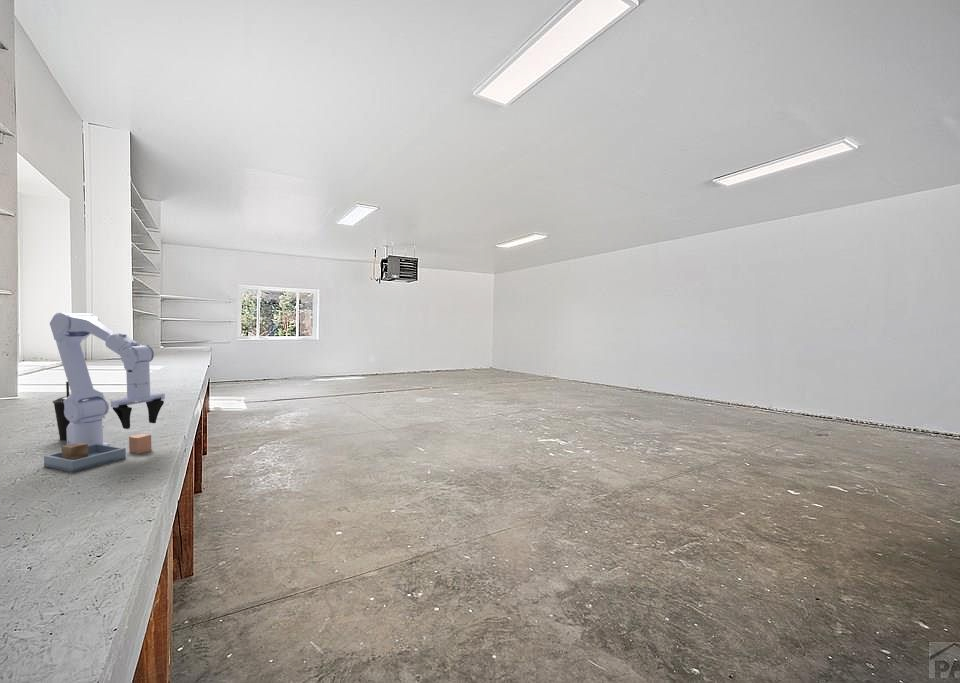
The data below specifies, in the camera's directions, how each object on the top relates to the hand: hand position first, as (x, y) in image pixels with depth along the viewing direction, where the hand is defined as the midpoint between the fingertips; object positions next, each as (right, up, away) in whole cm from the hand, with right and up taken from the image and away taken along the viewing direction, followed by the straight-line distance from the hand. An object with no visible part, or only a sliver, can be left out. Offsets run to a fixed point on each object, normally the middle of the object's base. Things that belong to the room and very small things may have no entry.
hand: (139, 425), depth 134 cm
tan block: (-8, -8, -13) cm, 17 cm away
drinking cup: (-35, -7, +13) cm, 38 cm away
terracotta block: (0, -8, 0) cm, 8 cm away
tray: (-8, -9, -10) cm, 15 cm away
